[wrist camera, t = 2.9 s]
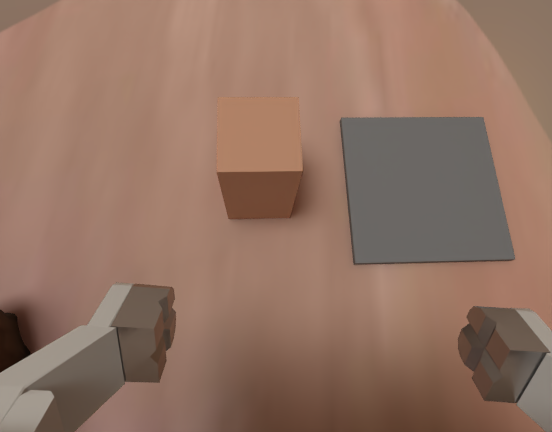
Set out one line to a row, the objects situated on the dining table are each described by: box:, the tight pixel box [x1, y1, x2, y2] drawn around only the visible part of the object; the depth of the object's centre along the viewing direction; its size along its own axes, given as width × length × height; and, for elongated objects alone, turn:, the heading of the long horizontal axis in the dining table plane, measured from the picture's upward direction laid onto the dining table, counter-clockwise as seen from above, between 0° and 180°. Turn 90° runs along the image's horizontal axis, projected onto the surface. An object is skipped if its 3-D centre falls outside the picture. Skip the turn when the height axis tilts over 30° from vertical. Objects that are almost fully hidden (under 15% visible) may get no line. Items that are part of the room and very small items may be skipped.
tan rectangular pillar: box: [217, 97, 303, 219], centre depth 29 cm, size 5×5×10 cm
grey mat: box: [340, 117, 515, 264], centre depth 34 cm, size 14×14×1 cm
